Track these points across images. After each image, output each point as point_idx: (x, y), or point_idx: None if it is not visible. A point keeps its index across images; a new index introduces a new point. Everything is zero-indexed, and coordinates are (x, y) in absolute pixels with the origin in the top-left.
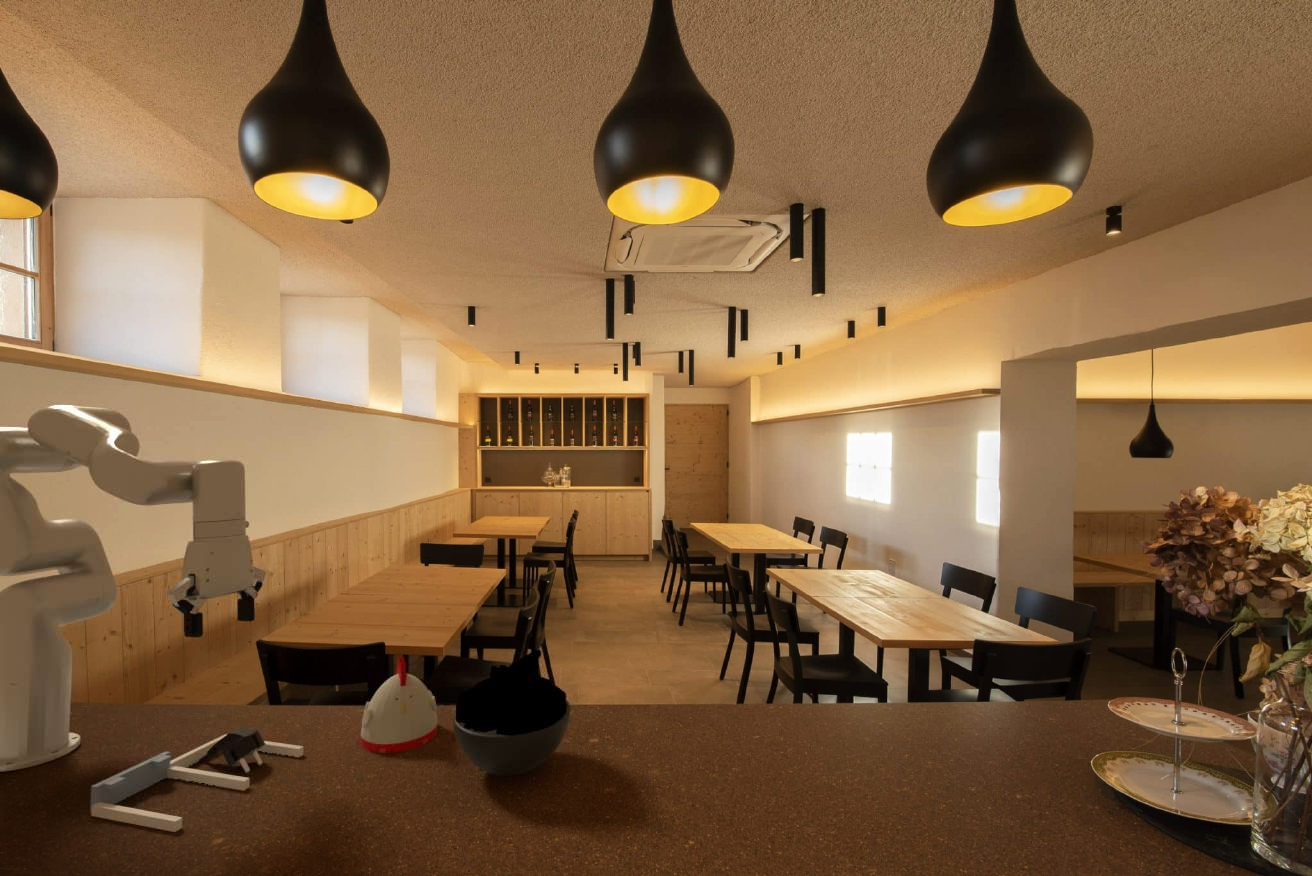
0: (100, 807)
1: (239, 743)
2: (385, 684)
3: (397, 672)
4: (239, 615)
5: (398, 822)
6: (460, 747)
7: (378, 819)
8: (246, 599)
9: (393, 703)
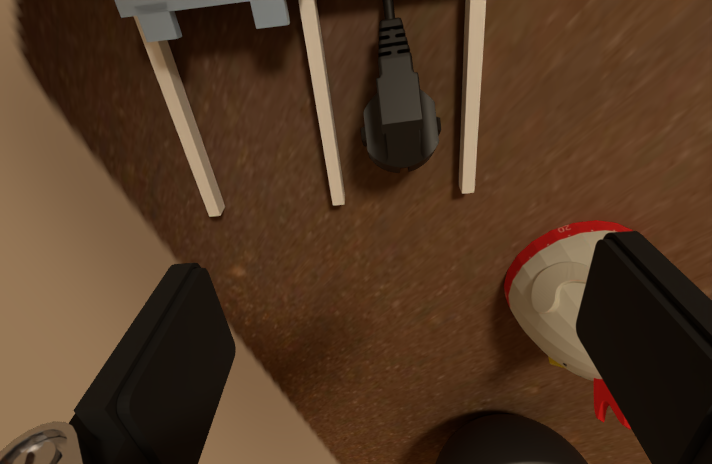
0: (143, 41)
1: (375, 159)
2: None
3: None
4: (615, 277)
5: (357, 392)
6: (453, 448)
7: (353, 377)
8: (702, 454)
9: (555, 357)
